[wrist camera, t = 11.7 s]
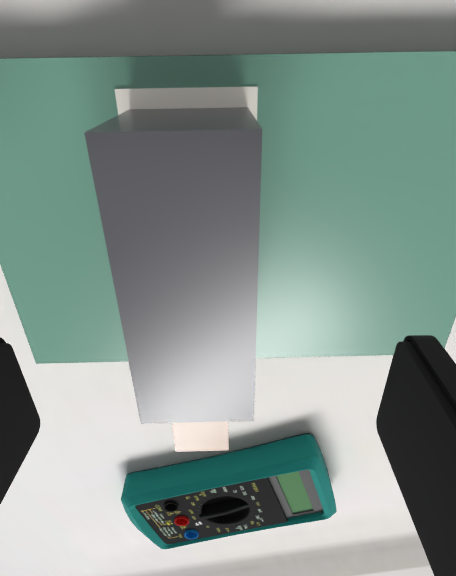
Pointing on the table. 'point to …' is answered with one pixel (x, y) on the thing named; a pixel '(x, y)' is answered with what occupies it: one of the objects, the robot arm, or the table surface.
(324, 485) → the digital multimeter
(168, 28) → the table surface
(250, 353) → the block
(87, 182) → the header board
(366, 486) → the table surface
